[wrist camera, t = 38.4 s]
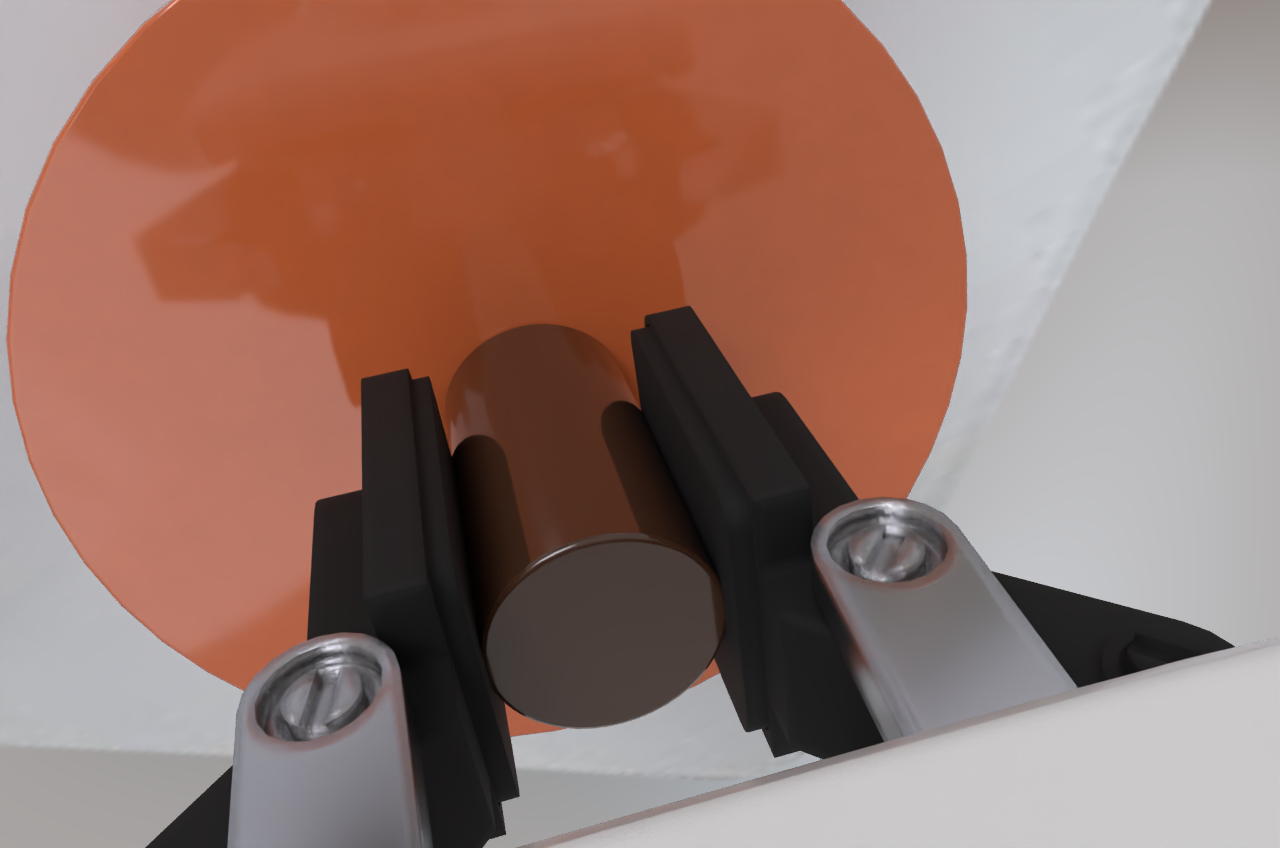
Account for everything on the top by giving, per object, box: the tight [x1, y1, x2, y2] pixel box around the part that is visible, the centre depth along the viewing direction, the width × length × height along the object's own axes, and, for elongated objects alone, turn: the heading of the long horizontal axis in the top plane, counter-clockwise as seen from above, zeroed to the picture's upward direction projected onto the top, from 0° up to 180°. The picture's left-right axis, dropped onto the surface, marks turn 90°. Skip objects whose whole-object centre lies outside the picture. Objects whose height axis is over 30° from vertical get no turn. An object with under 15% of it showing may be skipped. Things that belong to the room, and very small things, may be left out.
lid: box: [6, 0, 967, 737], centre depth 12 cm, size 12×12×6 cm
